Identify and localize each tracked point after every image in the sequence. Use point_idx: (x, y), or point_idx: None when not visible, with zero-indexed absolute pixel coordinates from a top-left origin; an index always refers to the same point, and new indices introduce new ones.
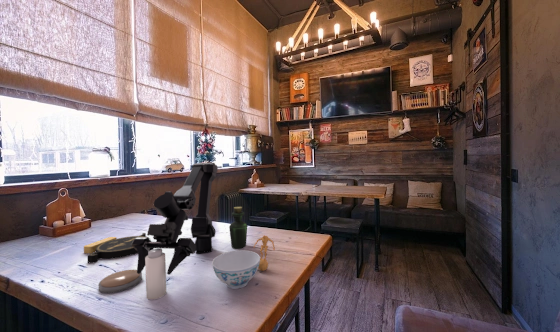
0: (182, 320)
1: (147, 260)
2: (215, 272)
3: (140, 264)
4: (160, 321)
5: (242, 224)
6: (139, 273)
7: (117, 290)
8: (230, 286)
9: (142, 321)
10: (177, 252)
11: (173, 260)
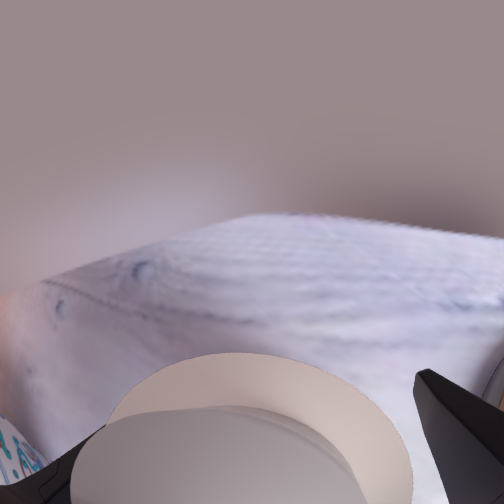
0: (96, 286)
1: (268, 356)
2: (6, 440)
3: (451, 410)
4: (152, 267)
5: None
6: (413, 389)
7: (501, 365)
8: (35, 452)
9: (211, 251)
10: (3, 490)
11: (63, 464)
